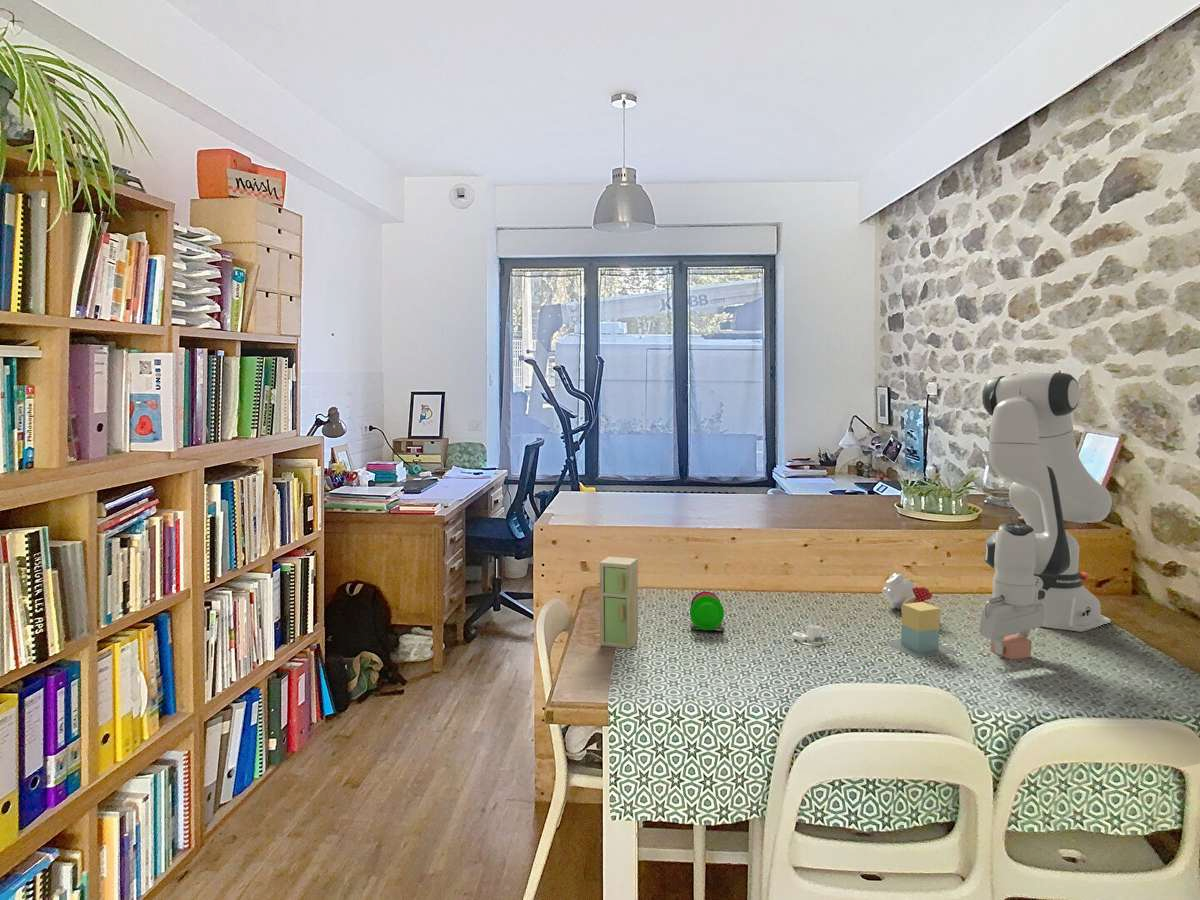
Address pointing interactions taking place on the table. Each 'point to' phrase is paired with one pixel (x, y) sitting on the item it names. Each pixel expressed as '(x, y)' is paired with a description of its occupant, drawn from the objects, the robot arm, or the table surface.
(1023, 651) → the terracotta brick
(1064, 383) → the robot arm
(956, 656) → the table surface
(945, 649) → the build plate
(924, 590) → the bird rattle
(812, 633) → the teacup and saucer
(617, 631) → the toy refrigerator
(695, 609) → the multicoloured piece
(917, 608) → the ochre brick
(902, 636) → the teal brick
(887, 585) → the ghost figurine
